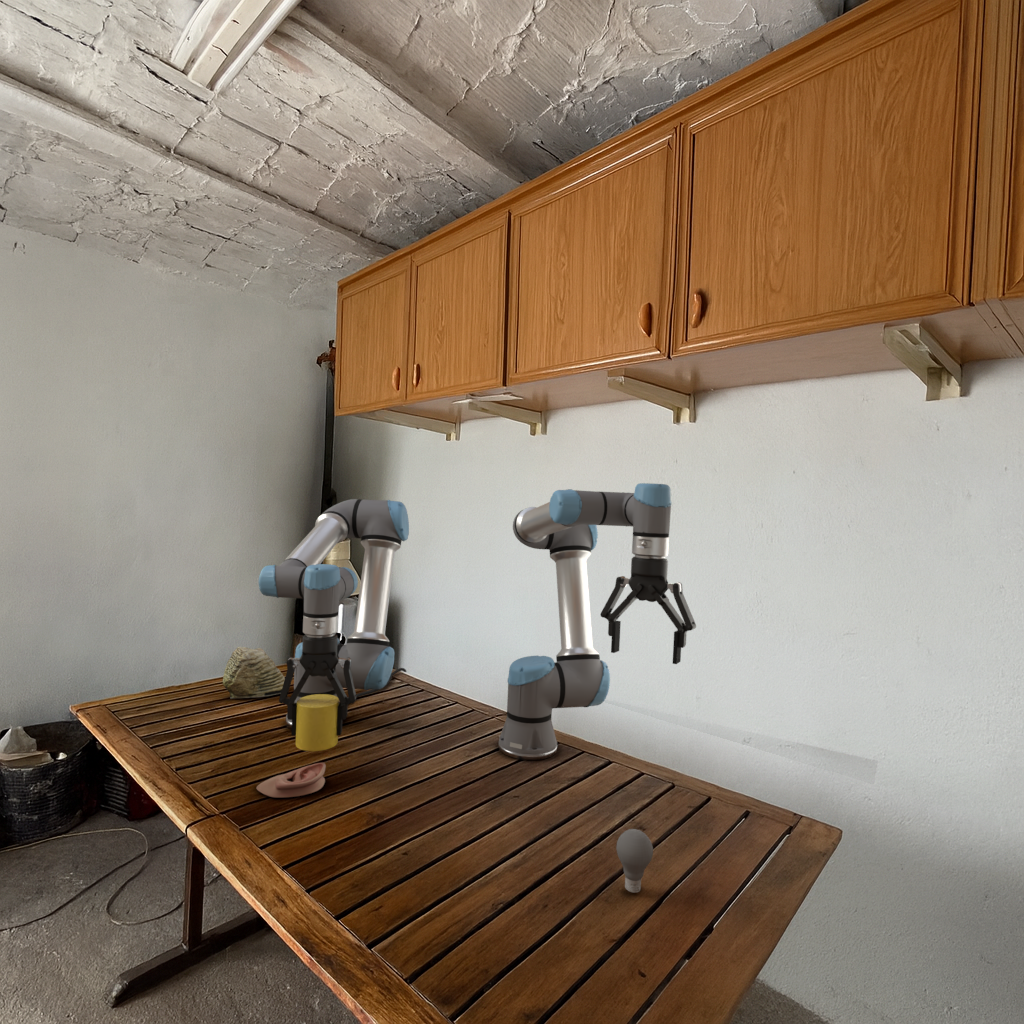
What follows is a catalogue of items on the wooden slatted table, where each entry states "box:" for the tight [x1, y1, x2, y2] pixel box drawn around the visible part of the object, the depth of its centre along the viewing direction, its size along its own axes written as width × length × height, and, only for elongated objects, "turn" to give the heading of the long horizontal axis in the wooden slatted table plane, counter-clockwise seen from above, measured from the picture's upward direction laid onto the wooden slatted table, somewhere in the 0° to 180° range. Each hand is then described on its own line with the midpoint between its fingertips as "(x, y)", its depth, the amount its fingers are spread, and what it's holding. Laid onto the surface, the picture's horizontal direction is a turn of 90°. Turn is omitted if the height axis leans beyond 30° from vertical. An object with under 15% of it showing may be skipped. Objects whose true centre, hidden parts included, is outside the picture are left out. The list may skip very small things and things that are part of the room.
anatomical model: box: [256, 762, 327, 799], centre depth 137 cm, size 13×4×12 cm
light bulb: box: [615, 828, 654, 894], centre depth 106 cm, size 6×6×10 cm
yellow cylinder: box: [295, 694, 340, 752], centre depth 142 cm, size 9×9×10 cm
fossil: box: [222, 646, 286, 699], centre depth 198 cm, size 9×18×15 cm, turn 132°
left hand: (317, 733), depth 142 cm, fingers closed on yellow cylinder, 9 cm apart
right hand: (644, 657), depth 134 cm, fingers open, 13 cm apart
